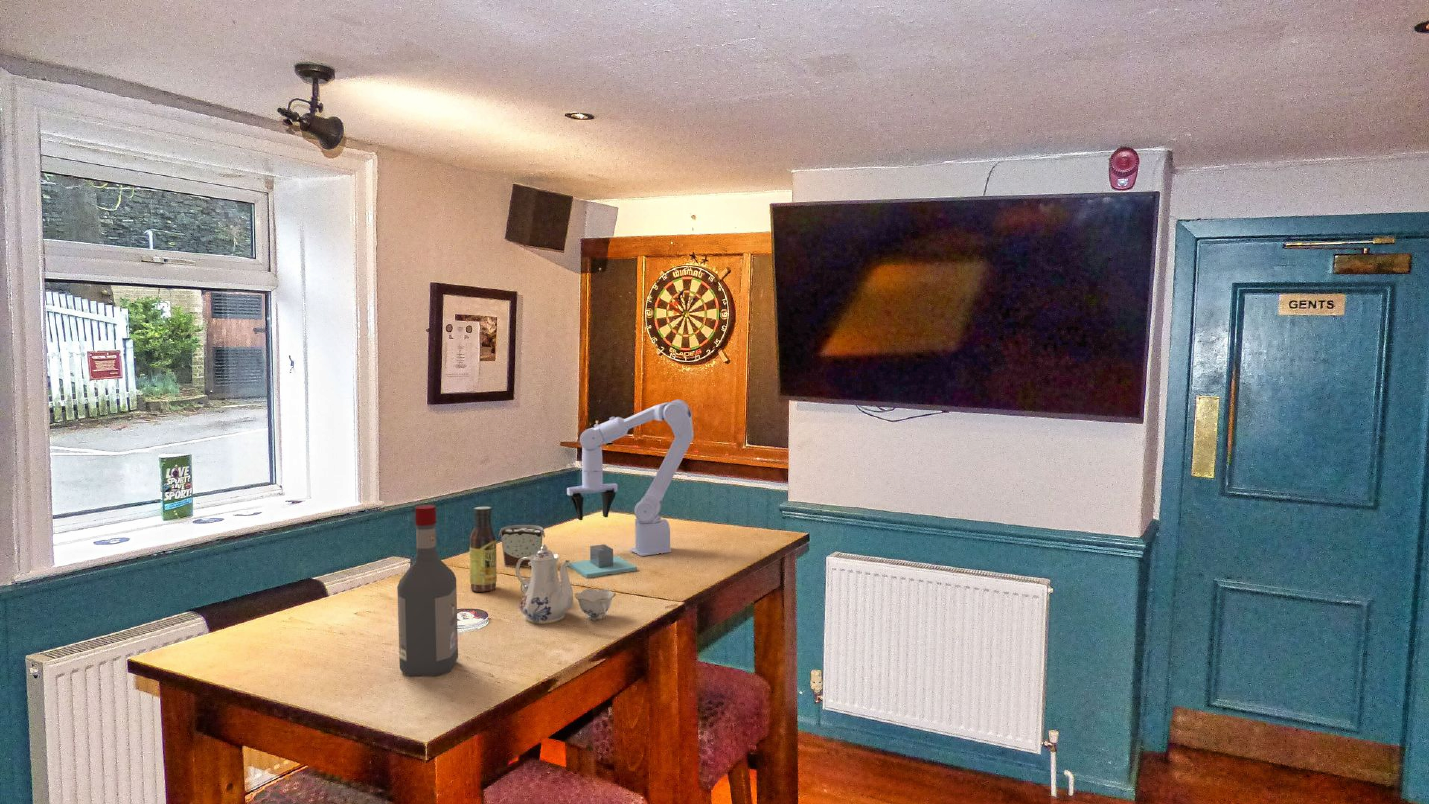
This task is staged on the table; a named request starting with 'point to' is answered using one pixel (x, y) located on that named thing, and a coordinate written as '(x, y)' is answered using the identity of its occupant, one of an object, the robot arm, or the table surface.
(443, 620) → the liquor
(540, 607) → the chinaware
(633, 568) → the teal board
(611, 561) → the block
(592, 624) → the table surface
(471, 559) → the sauce bottle
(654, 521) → the robot arm
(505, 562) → the food container
